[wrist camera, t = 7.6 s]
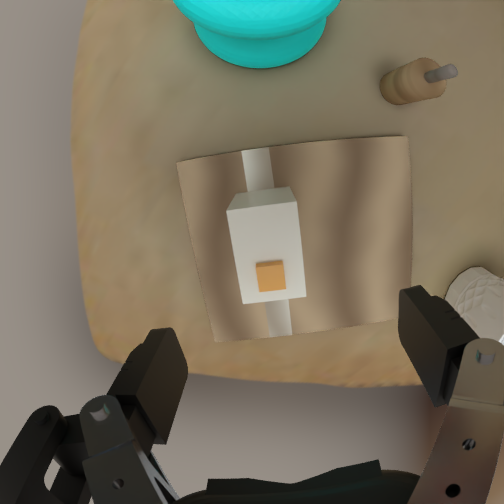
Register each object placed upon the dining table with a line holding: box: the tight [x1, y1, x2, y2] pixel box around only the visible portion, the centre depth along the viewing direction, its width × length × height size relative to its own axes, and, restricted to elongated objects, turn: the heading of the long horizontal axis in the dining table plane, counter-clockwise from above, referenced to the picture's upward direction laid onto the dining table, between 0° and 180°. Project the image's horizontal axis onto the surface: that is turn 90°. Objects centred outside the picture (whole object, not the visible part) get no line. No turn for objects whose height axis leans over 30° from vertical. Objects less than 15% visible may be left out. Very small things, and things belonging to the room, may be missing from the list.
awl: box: [380, 58, 458, 105], centre depth 17 cm, size 3×3×9 cm
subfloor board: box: [176, 136, 413, 342], centre depth 25 cm, size 18×16×1 cm
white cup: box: [445, 267, 504, 345], centre depth 22 cm, size 8×8×10 cm
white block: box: [226, 187, 306, 304], centre depth 21 cm, size 4×6×7 cm, turn 9°
